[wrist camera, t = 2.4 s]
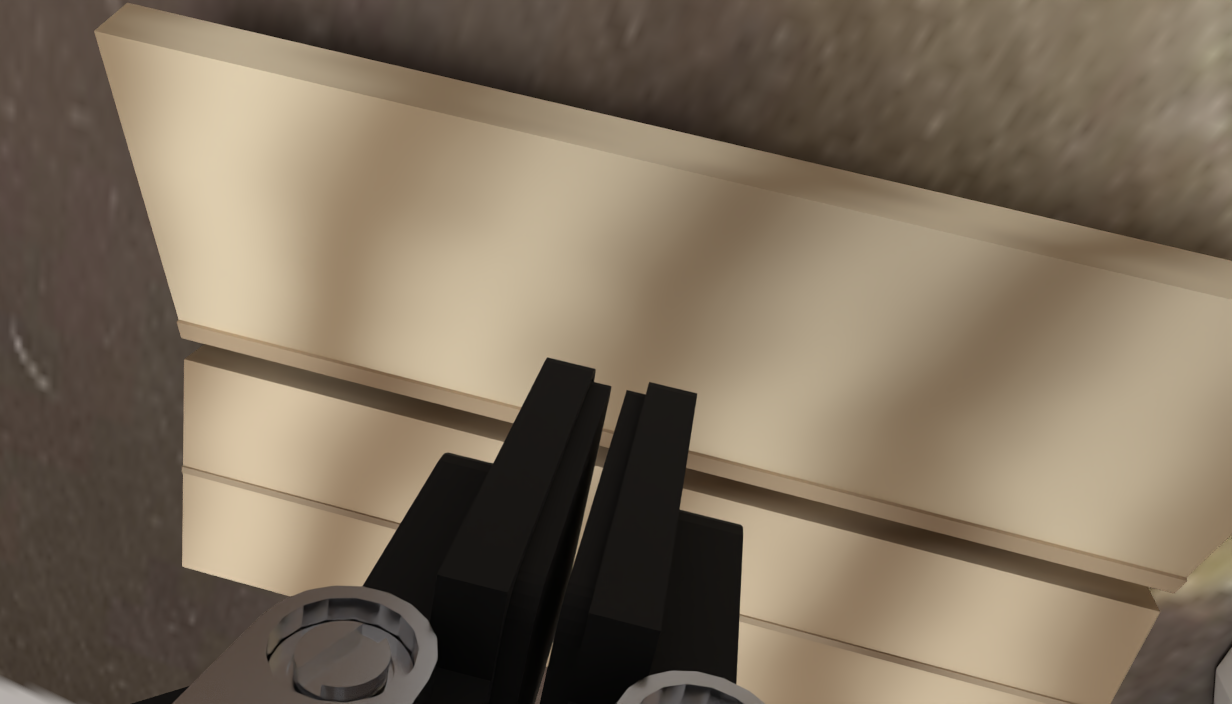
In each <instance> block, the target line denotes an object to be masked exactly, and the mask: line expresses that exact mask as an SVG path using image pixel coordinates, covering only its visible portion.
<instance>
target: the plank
mask: <svg viewBox="0 0 1232 704" xmlns="http://www.w3.org/2000/svg"><path fill="white" fill-rule="evenodd" d="M94 32H95V35H96V39H97V42H98V46H99V49H100V52H101V56H102V59H103V63H104V66H105V69H106V73H107V76H108V80H109V83H110V87H111V90H112V93H113V97H114V100H115V104H116V107H117V110H118V114H119V117H120V121H121V124H122V127H123V131H124V134H125V138H126V141H127V145H128V148H129V151H130V155H131V158H132V162H133V165H134V168H135V172H136V175H137V179H138V182H139V185H140V189H141V192H142V196H143V199H144V203H145V206H146V209H147V213H148V216H149V220H150V223H151V226H152V230H153V233H154V237H155V240H156V243H157V247H158V250H159V254H160V257H161V261H162V264H163V267H164V271H165V274H166V278H167V281H168V284H169V288H170V291H171V295H172V298H173V301H174V305H175V308H176V312H177V315H178V319H179V320H178V321H177V325H178V328H179V331H180V335H181V338H184V339H188V340H192V341H195V342H199V343H203V344H207V345H211V346H215V347H219V348H223V349H227V350H230V351H234V352H238V353H242V354H246V355H250V356H254V357H258V358H262V359H265V360H269V361H273V362H277V363H281V364H285V365H289V366H293V367H296V368H300V369H304V370H308V371H312V372H316V373H320V374H324V375H328V376H331V377H335V378H339V379H343V380H347V381H351V382H355V383H359V384H363V385H366V386H370V387H374V388H378V389H382V390H386V391H390V392H394V393H398V394H401V395H405V396H409V397H413V398H417V399H421V400H425V401H429V402H432V403H436V404H440V405H444V406H448V407H452V408H456V409H460V410H464V411H467V412H471V413H475V414H479V415H483V416H487V417H491V418H495V419H499V420H502V421H506V422H510V423H514V421H515V419H516V417H517V415H518V413H519V411H520V409H521V407H522V405H523V403H524V401H525V399H526V397H527V395H528V393H529V391H530V389H531V387H532V385H533V384H534V382H535V380H536V378H537V376H538V374H539V372H540V370H541V368H542V366H543V364H544V362H545V360H546V358H547V357H548V358H552V359H557V360H561V361H565V362H569V363H573V364H577V365H582V366H586V367H590V368H594V369H596V373H595V380H594V382H596V383H600V384H605V385H609V386H611V393H610V398H609V403H608V407H607V412H606V417H605V421H604V426H603V430H602V435H601V440H600V444H599V445H600V446H603V447H607V448H609V447H610V443H611V440H612V437H613V434H614V430H615V427H616V424H617V420H618V417H619V414H620V411H621V407H622V404H623V401H624V397H625V394H626V391H627V390H629V391H634V392H638V393H642V394H646V392H647V388H648V384H649V382H652V383H656V384H660V385H665V386H669V387H673V388H677V389H681V390H685V391H689V392H694V393H697V400H696V406H695V413H694V419H693V426H692V432H691V439H690V445H689V452H688V458H687V465H686V468H689V469H693V470H697V471H701V472H704V473H708V474H712V475H716V476H720V477H724V478H728V479H732V480H736V481H739V482H743V483H747V484H751V485H755V486H759V487H763V488H767V489H771V490H774V491H778V492H782V493H786V494H790V495H794V496H798V497H802V498H806V499H809V500H813V501H817V502H821V503H825V504H829V505H833V506H837V507H840V508H844V509H848V510H852V511H856V512H860V513H864V514H868V515H872V516H875V517H879V518H883V519H887V520H891V521H895V522H899V523H903V524H907V525H910V526H914V527H918V528H922V529H926V530H930V531H934V532H938V533H942V534H945V535H949V536H953V537H957V538H961V539H965V540H969V541H973V542H976V543H980V544H984V545H988V546H992V547H996V548H1000V549H1004V550H1008V551H1011V552H1015V553H1019V554H1023V555H1027V556H1031V557H1035V558H1039V559H1043V560H1046V561H1050V562H1054V563H1058V564H1062V565H1066V566H1070V567H1074V568H1078V569H1081V570H1085V571H1089V572H1093V573H1097V574H1101V575H1105V576H1109V577H1113V578H1116V579H1120V580H1124V581H1128V582H1132V583H1136V584H1140V585H1144V586H1147V587H1151V588H1155V589H1159V590H1163V591H1167V592H1171V593H1175V592H1176V591H1177V590H1178V589H1179V588H1180V587H1181V586H1182V585H1184V584H1185V583H1186V582H1187V577H1188V576H1189V575H1190V574H1191V573H1192V572H1193V571H1194V570H1195V569H1196V568H1197V567H1198V566H1199V565H1200V564H1201V563H1202V562H1203V561H1204V560H1205V559H1206V558H1207V557H1209V556H1210V555H1211V554H1212V553H1213V552H1214V551H1215V550H1216V549H1217V548H1218V547H1219V546H1220V545H1221V544H1222V543H1223V542H1224V541H1225V540H1226V539H1227V538H1228V537H1230V536H1231V535H1232V261H1230V260H1226V259H1222V258H1218V257H1213V256H1209V255H1205V254H1200V253H1196V252H1192V251H1188V250H1183V249H1179V248H1175V247H1170V246H1166V245H1162V244H1158V243H1153V242H1149V241H1145V240H1140V239H1136V238H1132V237H1128V236H1123V235H1119V234H1115V233H1111V232H1106V231H1102V230H1098V229H1093V228H1089V227H1085V226H1081V225H1076V224H1072V223H1068V222H1063V221H1059V220H1055V219H1051V218H1046V217H1042V216H1038V215H1033V214H1029V213H1025V212H1021V211H1016V210H1012V209H1008V208H1004V207H999V206H995V205H991V204H986V203H982V202H978V201H974V200H969V199H965V198H961V197H956V196H952V195H948V194H944V193H939V192H935V191H931V190H926V189H922V188H918V187H914V186H909V185H905V184H901V183H897V182H892V181H888V180H884V179H879V178H875V177H871V176H867V175H862V174H858V173H854V172H849V171H845V170H841V169H837V168H832V167H828V166H824V165H819V164H815V163H811V162H807V161H802V160H798V159H794V158H790V157H785V156H781V155H777V154H772V153H768V152H764V151H760V150H755V149H751V148H747V147H742V146H738V145H734V144H730V143H725V142H721V141H717V140H712V139H708V138H704V137H700V136H695V135H691V134H687V133H683V132H678V131H674V130H670V129H665V128H661V127H657V126H653V125H648V124H644V123H640V122H635V121H631V120H627V119H623V118H618V117H614V116H610V115H605V114H601V113H597V112H593V111H588V110H584V109H580V108H576V107H571V106H567V105H563V104H558V103H554V102H550V101H546V100H541V99H537V98H533V97H528V96H524V95H520V94H516V93H511V92H507V91H503V90H498V89H494V88H490V87H486V86H481V85H477V84H473V83H469V82H464V81H460V80H456V79H451V78H447V77H443V76H439V75H434V74H430V73H426V72H421V71H417V70H413V69H409V68H404V67H400V66H396V65H391V64H387V63H383V62H379V61H374V60H370V59H366V58H362V57H357V56H353V55H349V54H344V53H340V52H336V51H332V50H327V49H323V48H319V47H314V46H310V45H306V44H302V43H297V42H293V41H289V40H284V39H280V38H276V37H272V36H267V35H263V34H259V33H255V32H250V31H246V30H242V29H237V28H233V27H229V26H225V25H220V24H216V23H212V22H207V21H203V20H199V19H195V18H190V17H186V16H182V15H177V14H173V13H169V12H165V11H160V10H156V9H152V8H148V7H143V6H139V5H135V4H130V3H127V4H125V5H124V6H123V7H122V8H121V9H120V10H118V11H117V12H116V13H115V14H114V15H112V16H111V17H110V18H109V19H108V20H107V21H105V22H104V23H103V24H102V25H101V26H99V27H98V28H97V29H96V30H95V31H94Z"/></svg>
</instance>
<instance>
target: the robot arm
mask: <svg viewBox="0 0 1232 704" xmlns="http://www.w3.org/2000/svg"><path fill="white" fill-rule="evenodd" d="M595 373H596V369H594V368H590V367H586V366H582V365H577V364H573V363H569V362H565V361H561V360H557V359H552V358H548V357H547V358H546V360H545V362H544V364H543V366H542V368H541V370H540V372H539V374H538V376H537V378H536V380H535V382H534V384H533V385H532V387H531V389H530V391H529V393H528V395H527V397H526V399H525V401H524V403H523V405H522V407H521V409H520V411H519V413H518V415H517V417H516V419H515V421H514V423H513V425H512V427H511V429H510V431H509V433H508V435H507V437H506V439H505V441H504V443H503V445H502V447H501V449H500V451H499V453H498V455H497V457H496V459H495V461H494V463H489V462H485V461H481V460H477V459H473V458H469V457H465V456H461V455H457V454H453V453H449V452H447V453H444V454H443V455H442V457H441V458H440V459H439V461H438V462H437V464H436V466H435V467H434V469H433V470H432V472H431V474H430V475H429V477H428V479H427V480H426V482H425V484H424V485H423V487H422V489H421V490H420V492H419V494H418V495H417V497H416V499H415V500H414V502H413V503H412V505H411V507H410V508H409V510H408V512H407V513H406V515H405V517H404V518H403V520H402V522H401V523H400V525H399V527H398V528H397V530H396V531H395V533H394V535H393V536H392V538H391V540H390V541H389V543H388V545H387V546H386V548H385V550H384V551H383V553H382V555H381V556H380V558H379V560H378V561H377V563H376V564H375V566H374V568H373V569H372V571H371V573H370V574H369V576H368V578H367V579H366V581H365V583H364V584H363V586H338V585H335V586H328V587H322V588H316V589H310V590H306V591H303V592H301V593H298V594H296V595H293V596H291V597H288V598H286V599H283V600H281V601H280V602H279V603H277V604H276V605H275V606H273V607H272V608H270V609H269V610H268V611H266V612H265V613H264V614H262V615H261V616H260V617H259V618H258V619H257V620H256V621H255V622H254V623H253V624H252V625H251V626H250V627H249V628H248V629H247V630H246V631H245V632H244V633H243V634H242V635H241V636H240V637H239V638H238V639H237V640H236V641H235V642H234V643H233V644H232V645H231V646H230V647H229V648H228V649H227V650H226V651H225V652H224V653H223V654H222V655H221V656H220V657H219V658H218V659H217V660H216V661H215V662H214V663H213V664H212V665H211V666H210V667H209V668H207V669H206V670H205V671H204V672H203V673H202V674H201V675H200V676H199V677H198V678H197V679H196V680H195V681H194V682H193V683H192V684H191V685H190V686H188V687H185V688H182V689H178V690H175V691H172V692H169V693H165V694H162V695H159V696H155V697H152V698H149V699H145V700H142V701H139V702H136V703H132V704H535V700H536V697H537V694H538V690H539V687H540V684H541V680H542V677H543V674H544V670H545V667H546V664H547V660H548V657H549V654H550V650H551V647H552V650H551V654H550V659H549V664H548V668H547V673H546V678H545V682H544V687H543V691H542V696H541V701H540V704H765V703H764V702H763V701H761V700H760V699H759V698H758V697H756V696H755V695H754V694H753V693H751V692H750V691H748V690H746V689H744V688H742V687H740V686H738V685H736V683H737V662H738V640H739V618H740V597H741V575H742V553H743V526H742V525H740V524H736V523H732V522H728V521H724V520H720V519H716V518H712V517H708V516H704V515H700V514H696V513H692V512H688V511H684V510H680V504H681V497H682V491H683V484H684V478H685V471H686V465H687V458H688V452H689V445H690V439H691V432H692V426H693V419H694V413H695V406H696V400H697V393H694V392H689V391H685V390H681V389H677V388H673V387H669V386H665V385H660V384H656V383H652V382H649V384H648V388H647V392H646V394H642V393H638V392H634V391H629V390H627V391H626V394H625V397H624V401H623V404H622V407H621V411H620V414H619V417H618V420H617V424H616V427H615V430H614V434H613V437H612V440H611V443H610V447H609V450H608V453H607V457H606V460H605V463H604V467H603V470H602V473H601V476H600V480H599V483H598V486H597V490H596V493H595V496H594V500H593V503H592V506H591V509H590V513H589V516H588V519H587V523H586V526H585V529H584V532H583V536H582V539H581V542H580V546H579V549H578V552H577V556H576V559H575V554H576V550H577V545H578V540H579V536H580V531H581V527H582V522H583V518H584V513H585V508H586V504H587V499H588V495H589V490H590V485H591V481H592V476H593V472H594V467H595V462H596V458H597V453H598V449H599V444H600V440H601V435H602V430H603V426H604V421H605V417H606V412H607V407H608V403H609V398H610V393H611V386H609V385H605V384H600V383H596V382H594V380H595ZM574 559H575V562H574ZM573 563H574V565H573ZM572 568H573V569H572ZM553 640H554V641H553ZM552 644H553V645H552Z"/></svg>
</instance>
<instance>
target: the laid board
mask: <svg viewBox="0 0 1232 704" xmlns="http://www.w3.org/2000/svg"><path fill="white" fill-rule="evenodd" d="M512 425H513V423H510V422H506V421H502V420H499V419H495V418H491V417H487V416H483V415H479V414H475V413H471V412H467V411H464V410H460V409H456V408H452V407H448V406H444V405H440V404H436V403H432V402H429V401H425V400H421V399H417V398H413V397H409V396H405V395H401V394H398V393H394V392H390V391H386V390H382V389H378V388H374V387H370V386H366V385H363V384H359V383H355V382H351V381H347V380H343V379H339V378H335V377H331V376H328V375H324V374H320V373H316V372H312V371H308V370H304V369H300V368H296V367H293V366H289V365H285V364H281V363H277V362H273V361H269V360H265V359H262V358H258V357H254V356H250V355H246V354H242V353H238V352H234V351H230V350H227V349H223V348H219V347H215V346H211V345H207V344H204V345H203V346H202V347H200V348H199V349H197V350H196V351H195V352H193V353H192V354H191V355H189V356H188V357H187V358H185V359H184V442H183V466H182V473H183V556H182V567H186V568H189V569H193V570H197V571H200V572H204V573H208V574H211V575H215V576H219V577H222V578H226V579H230V580H233V581H237V582H240V583H244V584H248V585H251V586H255V587H259V588H262V589H266V590H270V591H273V592H277V593H281V594H284V595H288V596H293V595H296V594H298V593H301V592H303V591H306V590H310V589H316V588H322V587H328V586H335V585H338V586H363V584H364V583H365V581H366V579H367V578H368V576H369V574H370V573H371V571H372V569H373V568H374V566H375V564H376V563H377V561H378V560H379V558H380V556H381V555H382V553H383V551H384V550H385V548H386V546H387V545H388V543H389V541H390V540H391V538H392V536H393V535H394V533H395V531H396V530H397V528H398V527H399V525H400V523H401V522H402V520H403V518H404V517H405V515H406V513H407V512H408V510H409V508H410V507H411V505H412V503H413V502H414V500H415V499H416V497H417V495H418V494H419V492H420V490H421V489H422V487H423V485H424V484H425V482H426V480H427V479H428V477H429V475H430V474H431V472H432V470H433V469H434V467H435V466H436V464H437V462H438V461H439V459H440V458H441V457H442V455H443V454H444V453H447V452H449V453H453V454H457V455H461V456H465V457H469V458H473V459H477V460H481V461H485V462H489V463H494V461H495V459H496V457H497V455H498V453H499V451H500V449H501V447H502V445H503V443H504V441H505V439H506V437H507V435H508V433H509V431H510V429H511V427H512ZM608 450H609V448H607V447H603V446H600V445H599V449H598V453H597V458H596V462H595V467H594V472H593V476H592V481H591V485H590V490H589V495H588V499H587V504H586V508H585V513H584V518H583V522H582V527H581V531H580V536H579V540H578V545H577V550H576V554H575V559H576V556H577V552H578V549H579V546H580V542H581V539H582V536H583V532H584V529H585V526H586V523H587V519H588V516H589V513H590V509H591V506H592V503H593V500H594V496H595V493H596V490H597V486H598V483H599V480H600V476H601V473H602V470H603V467H604V463H605V460H606V457H607V453H608ZM680 510H684V511H688V512H692V513H696V514H700V515H704V516H708V517H712V518H716V519H720V520H724V521H728V522H732V523H736V524H740V525H742V526H743V553H742V575H741V597H740V618H739V640H738V662H737V683H736V685H738V686H740V687H742V688H744V689H746V690H748V691H750V692H751V693H753V694H754V695H755V696H756V697H758V698H759V699H760V700H761V701H763V702H764V703H765V704H1110V703H1111V701H1112V700H1113V698H1114V696H1115V694H1116V692H1117V690H1118V689H1119V687H1120V685H1121V683H1122V681H1123V679H1124V677H1125V676H1126V674H1127V672H1128V670H1129V668H1130V666H1131V665H1132V663H1133V661H1134V659H1135V657H1136V655H1137V654H1138V652H1139V650H1140V648H1141V646H1142V644H1143V643H1144V641H1145V639H1146V637H1147V635H1148V633H1149V632H1150V630H1151V628H1152V626H1153V624H1154V622H1155V621H1156V619H1157V617H1158V615H1159V613H1160V611H1159V609H1158V607H1157V605H1156V603H1155V601H1154V599H1153V597H1152V595H1151V593H1150V591H1149V589H1148V587H1147V586H1144V585H1140V584H1136V583H1132V582H1128V581H1124V580H1120V579H1116V578H1113V577H1109V576H1105V575H1101V574H1097V573H1093V572H1089V571H1085V570H1081V569H1078V568H1074V567H1070V566H1066V565H1062V564H1058V563H1054V562H1050V561H1046V560H1043V559H1039V558H1035V557H1031V556H1027V555H1023V554H1019V553H1015V552H1011V551H1008V550H1004V549H1000V548H996V547H992V546H988V545H984V544H980V543H976V542H973V541H969V540H965V539H961V538H957V537H953V536H949V535H945V534H942V533H938V532H934V531H930V530H926V529H922V528H918V527H914V526H910V525H907V524H903V523H899V522H895V521H891V520H887V519H883V518H879V517H875V516H872V515H868V514H864V513H860V512H856V511H852V510H848V509H844V508H840V507H837V506H833V505H829V504H825V503H821V502H817V501H813V500H809V499H806V498H802V497H798V496H794V495H790V494H786V493H782V492H778V491H774V490H771V489H767V488H763V487H759V486H755V485H751V484H747V483H743V482H739V481H736V480H732V479H728V478H724V477H720V476H716V475H712V474H708V473H704V472H701V471H697V470H693V469H689V468H686V471H685V478H684V484H683V491H682V497H681V504H680ZM575 559H574V562H575ZM573 565H574V563H573ZM572 569H573V568H572ZM553 641H554V640H553ZM552 645H553V644H552ZM551 650H552V647H551ZM551 650H550V654H551ZM550 654H549V657H548V660H547V664H546V666H547V667H548V664H549V659H550Z"/></svg>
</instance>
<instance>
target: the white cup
mask: <svg viewBox="0 0 1232 704" xmlns="http://www.w3.org/2000/svg"><path fill="white" fill-rule="evenodd" d="M1214 704H1232V647H1231V649H1230V650H1229V652H1228V653H1227V654H1226V656H1225V657H1224V658H1223V660H1222V661H1221V663H1220V664H1219V665H1218V667H1217V668H1216V676H1215V690H1214Z"/></svg>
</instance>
